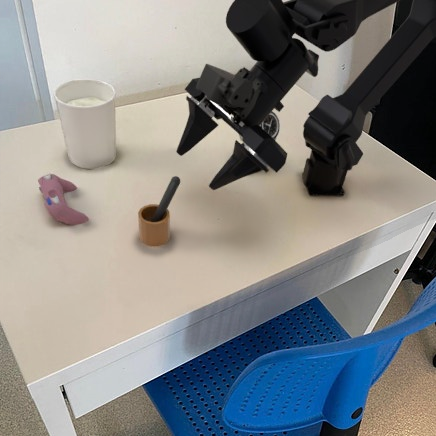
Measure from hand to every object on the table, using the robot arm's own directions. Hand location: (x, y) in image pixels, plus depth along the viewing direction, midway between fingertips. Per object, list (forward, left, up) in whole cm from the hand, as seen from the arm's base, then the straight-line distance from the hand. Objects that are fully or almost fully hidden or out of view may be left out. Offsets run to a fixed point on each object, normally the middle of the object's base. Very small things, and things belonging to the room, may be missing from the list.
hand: (194, 170), depth 70 cm
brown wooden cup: (+6, +3, -11) cm, 13 cm away
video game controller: (+20, -4, -11) cm, 23 cm away
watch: (-12, -19, -11) cm, 25 cm away
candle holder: (+17, -20, -11) cm, 28 cm away
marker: (+5, +2, -10) cm, 12 cm away
